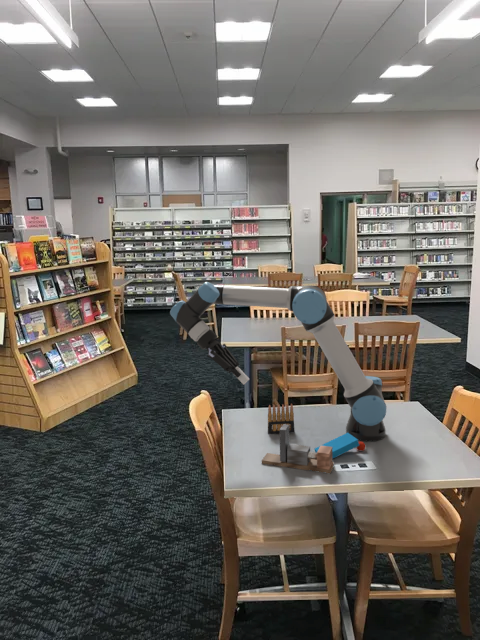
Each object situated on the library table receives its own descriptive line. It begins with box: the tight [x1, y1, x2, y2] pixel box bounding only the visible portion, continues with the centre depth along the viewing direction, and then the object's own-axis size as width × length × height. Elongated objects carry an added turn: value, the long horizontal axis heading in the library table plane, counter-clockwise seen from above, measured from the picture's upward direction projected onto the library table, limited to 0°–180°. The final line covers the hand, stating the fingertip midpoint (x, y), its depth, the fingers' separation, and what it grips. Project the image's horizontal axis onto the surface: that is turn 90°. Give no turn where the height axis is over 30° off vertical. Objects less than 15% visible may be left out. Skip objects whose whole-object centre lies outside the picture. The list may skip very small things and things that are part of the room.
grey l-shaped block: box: [279, 424, 317, 462], centre depth 167 cm, size 16×5×12 cm, turn 69°
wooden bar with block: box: [261, 443, 335, 474], centre depth 168 cm, size 24×6×7 cm, turn 69°
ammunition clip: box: [267, 403, 296, 435], centre depth 196 cm, size 11×2×12 cm, turn 93°
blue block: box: [313, 432, 366, 460], centre depth 176 cm, size 7×7×18 cm
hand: (246, 381), depth 180 cm, fingers closed
